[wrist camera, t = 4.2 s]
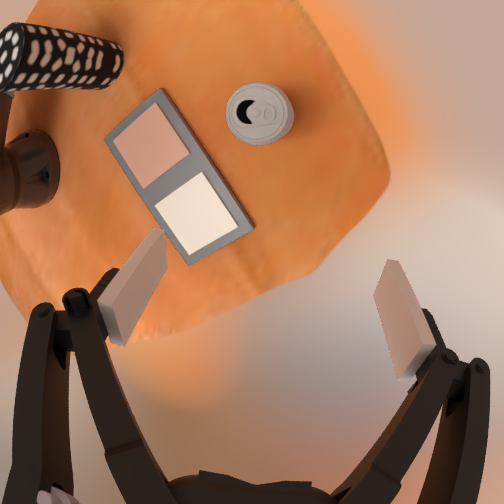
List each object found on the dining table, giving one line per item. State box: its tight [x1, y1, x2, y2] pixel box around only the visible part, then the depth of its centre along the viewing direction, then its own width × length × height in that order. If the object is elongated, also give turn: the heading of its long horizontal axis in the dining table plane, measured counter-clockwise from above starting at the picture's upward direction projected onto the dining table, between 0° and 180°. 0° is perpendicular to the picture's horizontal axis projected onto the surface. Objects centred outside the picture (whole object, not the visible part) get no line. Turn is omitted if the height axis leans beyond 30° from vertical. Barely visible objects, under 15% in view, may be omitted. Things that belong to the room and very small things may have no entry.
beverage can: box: [225, 82, 295, 145], centre depth 30 cm, size 6×6×12 cm
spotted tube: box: [0, 22, 124, 92], centre depth 26 cm, size 8×8×20 cm
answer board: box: [104, 88, 255, 266], centre depth 40 cm, size 24×12×2 cm, turn 33°
